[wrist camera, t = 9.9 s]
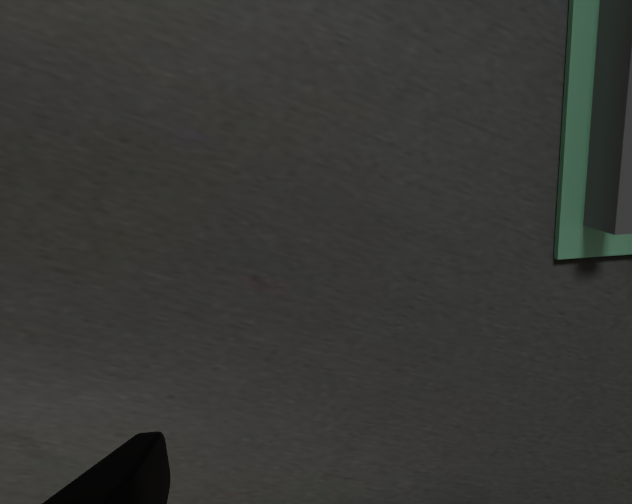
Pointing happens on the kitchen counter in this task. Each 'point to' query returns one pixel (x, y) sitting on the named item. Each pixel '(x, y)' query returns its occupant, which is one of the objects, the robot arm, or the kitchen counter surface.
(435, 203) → the kitchen counter surface
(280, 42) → the kitchen counter surface
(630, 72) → the header socket
